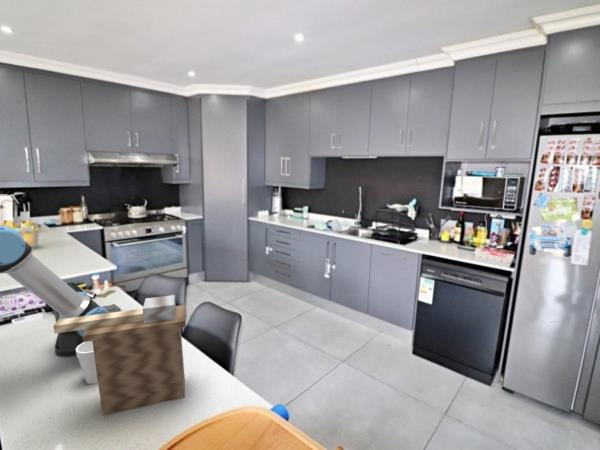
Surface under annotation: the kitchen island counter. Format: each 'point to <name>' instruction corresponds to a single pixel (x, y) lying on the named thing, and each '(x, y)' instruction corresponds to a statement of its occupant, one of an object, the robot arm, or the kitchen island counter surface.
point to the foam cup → (87, 361)
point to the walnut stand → (139, 363)
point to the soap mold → (112, 308)
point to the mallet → (123, 316)
